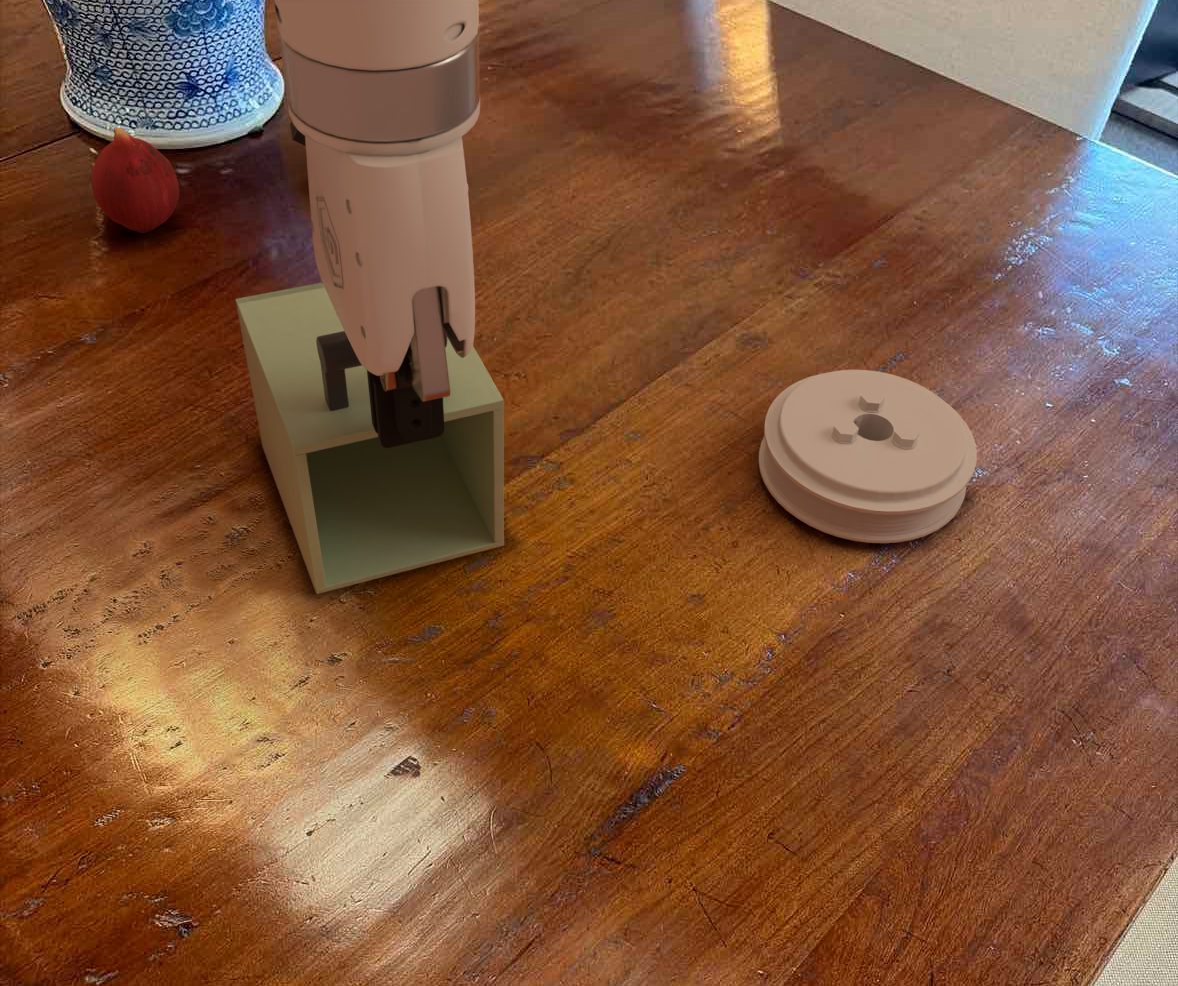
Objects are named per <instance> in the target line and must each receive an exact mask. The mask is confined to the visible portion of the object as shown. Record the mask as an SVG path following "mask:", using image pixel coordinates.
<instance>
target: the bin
mask: <svg viewBox="0 0 1178 986" xmlns="http://www.w3.org/2000/svg"><path fill="white" fill-rule="evenodd" d="M235 306H236V311H237V316H238V322H239V327H240V332H241V333H240V334H241V338H242V343H243V344H242V345H243V349H244V354H245V360H246V365H247V372H248V376H249V381H250V387H251V393H252V397H253V403H254V409H255V415H256V419H257V425H258V430H259V436H260V442H261V447H262V450H263V452H264V455H265V458H266V460H267V463H268V466H269V469H270V471H271V474H272V477H273V479H274V482H275V485H276V489H277V490H278V493H279V496H280V499H281V501H282V504H283V507H284V509H285V512H286V515H287V518H288V520H289V523H290V526H291V529H292V532H293V534H294V537H295V540H296V542H297V545H298V548H299V550H300V553H301V556H302V558H303V561H304V564H305V566H306V569H307V572H308V575H309V578H310V581H311V583H312V587H313V589H314V591H315V594H316V595H318V594H323V593H326V592H330V591H335V590H338V589H342V588H345V587H350V586H353V585H356V584H361V583H364V582H365V583H366V582H369V581H372V580H377V579H381V578H384V577H388V576H392V575H395V574H399V573H403V572H408V571H411V570H414V569H415V570H416V569H419V568H423V567H426V566H430V565H434V564H438V563H442V562H446V561H450V560H453V559H457V558H461V557H465V556H470V555H473V554H476V553H480V552H484V551H488V550H492V549H495V548H500V547H503V546H504V545H505V438H504V437H505V409H504V407H505V400H504V398H503V396H502V394H501V393H500V391H499V389H498V387H497V386H496V384H495V382H494V380H493V379H492V376H491V375H490V373H489V371H488V369H487V367H486V366H485V364H484V363H483V360H482V359H481V357H480V355H479V354H478V352H477V350H476V349H475V346H474V345H473V346H472V348H471V350H470V352H469V353H468V354H467V355H466V357H464V358H462V357H460V356H459V355H458V354H456V352H455V350H454V348H453V346H452V345H451V343H450V341H449V339H448V337H447V336H446V334H445V332H444V341H445V350H446V358H447V367H448V375H449V384H450V396H448V397H443V407H444V433H443V434H442V435H441V436H439V437H436V438H431V439H427V440H422V441H418V442H414V443H409V444H405V445H401V446H396V447H392V448H384V447H383V446H382V445H381V443H380V440H379V438H378V434H377V433H376V432H375V429H374V427H373V425H372V417H371V407H370V397H369V387H368V377H367V369H366V368H364V367H363V366H362V364H361V363H360V361H359V359H358V358H357V356H356V354H355V352H354V350H353V348H352V346H351V343H350V341H349V339H348V337H347V335H346V333H345V331H344V329H343V327H342V324H341V322H340V320H339V318H338V316H337V314H336V311H335V309H334V307H333V305H332V303H331V300H330V298H329V296H328V294H327V291H326V289H325V287H324V284H323V282H318V283H312V284H308V285H302V286H297V287H292V288H286V289H281V290H276V291H270V292H266V293H260V294H255V295H249V296H244V297H239V298H235Z"/></svg>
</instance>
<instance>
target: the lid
mask: <svg viewBox="0 0 1178 986" xmlns="http://www.w3.org/2000/svg"><path fill="white" fill-rule="evenodd" d="M977 459H978V449H977V444H976V440H975V438H974V435H973V432H972V431H971V429H970V427H969V425H968V424H967V422H966V421H965V420H964V419H963V417H962V416H961V415H960V414H959V413H958V412H957V411H956V410H955V409H954V408H953V407H952V406H951V405H950V404H949V403H947V402H946V401H945V400H943V399H942V398H941V397H940V396H938V395H937V394H935V393H934V392H933V391H931V390H930V389H928V388H926V387H924V386H922V385H921V384H919V383H916V382H915V381H912V380H909V379H907V378H905V377H902V376H898V375H895V374H891V373H888V372H883V371H877V370H870V369H869V370H867V369H840V370H834V371H828V372H824V373H823V372H822V373H819V374H815V375H811V376H808V377H806V378H803V379H800V380H798V381H796V382H794V383H793V384H791V385H789V386H788V387H786V388H785V389H784V390H783V391H781V392H780V393H779V394H778V395H777V396H776V397H775V398H774V399H773V401H772V403H771V404H770V405H769V407H768V410H767V413H766V415H765V420H764V424H763V437H762V440H761V442H760V446H759V450H758V468H759V473H760V476H761V478H762V481H763V483H764V485H765V487H766V488H767V490H768V492H769V493H770V495H771V496H772V497H773V498H774V499H775V501H776V502H777V503H778V504H779V505H780V506H781V507H782V508H784V510H786V511H787V512H788V513H789V514H791V516H793V517H795V519H798V520H799V521H801V522H803V523H804V524H806V525H808V526H809V527H812V528H814V529H816V530H818V531H820V532H823V533H826V534H828V535H831V536H834V537H837V538H841V539H845V540H849V541H853V542H861V543H867V544H870V543H871V544H890V543H891V544H892V543H893V544H894V543H895V544H896V543H903V542H909V541H913V540H917V539H920V538H923V537H926V536H928V535H930V534H932V533H934V532H937V531H939V530H940V529H941V528H943V527H944V526H945V525H947V524H948V523H950V521H951V520H952V519H954V517H955V516H956V515H957V513H958V512H959V510H960V509H961V507H962V506H963V502H964V500H965V497H966V492H967V485H968V484H969V483H970V481H971V479H972V477H973V474H974V472H975V469H976V466H977Z"/></svg>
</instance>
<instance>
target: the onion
mask: <svg viewBox="0 0 1178 986" xmlns="http://www.w3.org/2000/svg"><path fill="white" fill-rule="evenodd" d="M91 188H92V194H93V198H94V200H95V202H96V204H97V207H98V208H99V209H100V210H101V211H102V212H103V213H104V214H105V215H106V216H107V217H108V218H109V219H111V220H112V221H113V222H114V223H116V224H118V225H121V226H123V227H125V228H126V229H128V230H129V231H130V230H131V231H133V232H137V233H139V234H147V233H150V232H152V231H154V230H155V229H157V228H158V227H160V226H161V225H162V224H164V223H165V222H167V221H168V220H169V218H170V217H171V216H172V215H173V213H174V211H175V210H176V207H177V204H178V202H179V199H180V183H179V180H178V177H177V174H176V171H175V169H174V167H173V166H172V164H171V162H170V161H169V159H168V158H167V157H166V156H165V155H163V153H161V152H160V150H158V149H157V148H156V147H155V146H153V145H152V144H151V143H149V142H147V141H146V140H143V139H141V138H137V137H134V136H132V135H131V134H130V133H128V132H127V131H126V130H125V129H124V128H122V127H114V129H113V140H112V141H111V142H110V143H108V144H107V145H106V146H105V147H104V148H103V149H102V150H101V152H100V153H99V155H98V156H97V157H96V160H95V161H94V164H93V166H92V169H91Z"/></svg>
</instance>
